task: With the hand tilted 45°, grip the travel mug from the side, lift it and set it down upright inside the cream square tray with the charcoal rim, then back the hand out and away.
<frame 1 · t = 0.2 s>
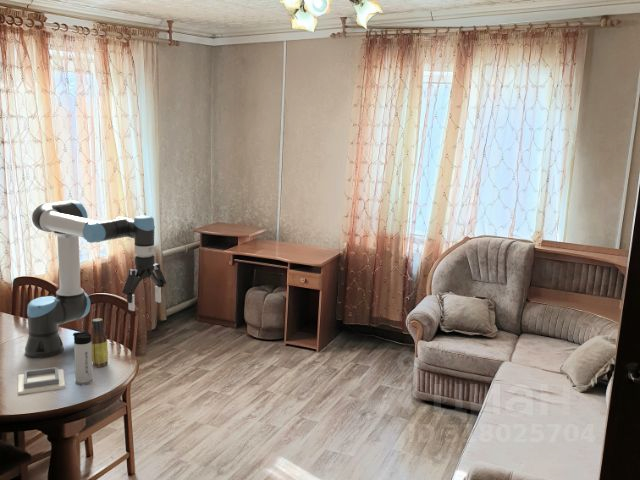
hand: (145, 305, 241), 28 cm above the table, tool pointing down, fingers open, 13 cm apart
travel mug: (83, 382, 234), on the table
sauce bottle: (99, 365, 250), on the table
mug tray: (41, 382, 231), on the table
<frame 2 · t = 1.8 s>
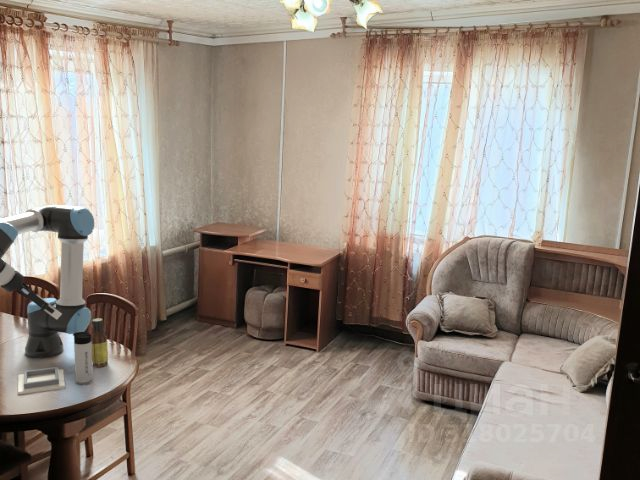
hand: (53, 311, 224), 29 cm above the table, tool tilted 45°, fingers open, 13 cm apart
nothing on the table moved.
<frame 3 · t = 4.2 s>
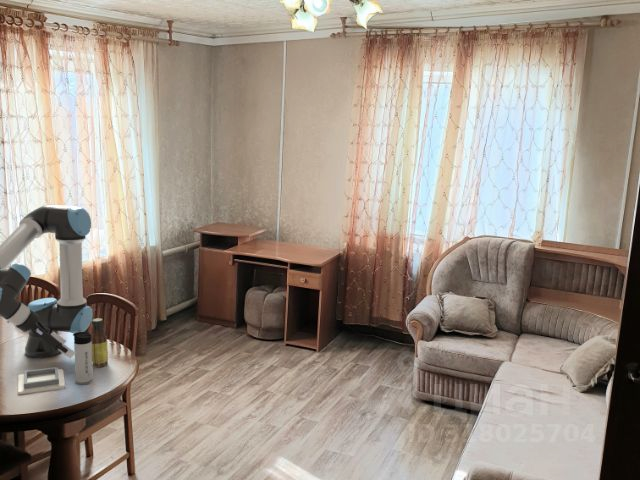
hand: (68, 349, 227), 15 cm above the table, tool tilted 45°, fingers open, 13 cm apart
nothing on the table moved.
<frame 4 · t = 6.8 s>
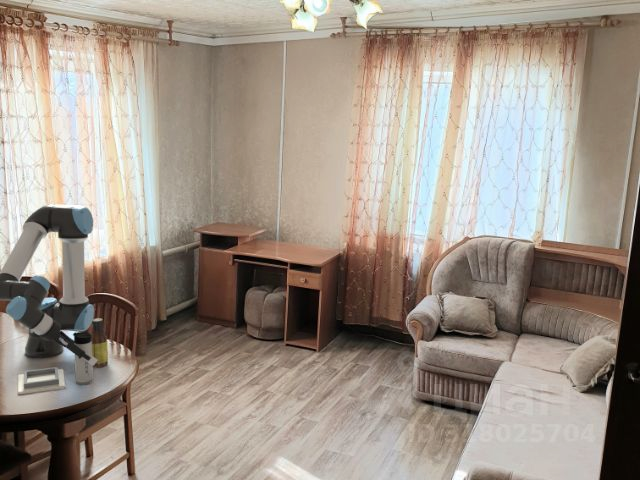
hand: (92, 359, 234), 8 cm above the table, tool tilted 45°, fingers closed on travel mug, 6 cm apart
travel mug: (83, 382, 234), on the table, touching gripper
everything else where it was.
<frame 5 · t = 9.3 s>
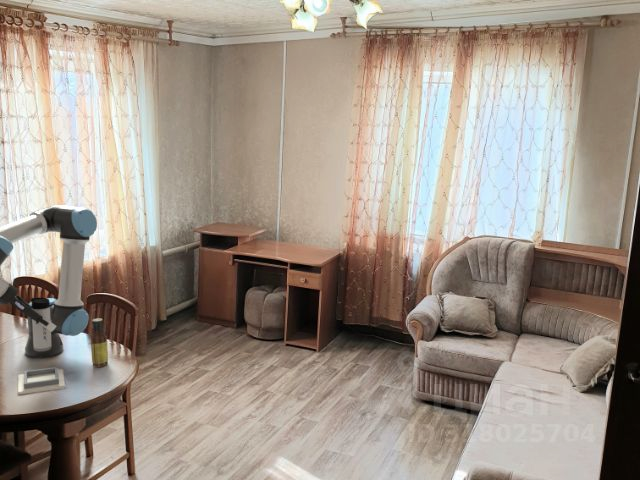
hand: (51, 326, 229), 22 cm above the table, tool tilted 45°, fingers closed on travel mug, 6 cm apart
travel mug: (42, 349, 229), point 14 cm above the table, touching gripper
everything else where it was.
when the fingers open (11 cm above the table, at t = 11.9 s): travel mug drops 2 cm, resting on mug tray.
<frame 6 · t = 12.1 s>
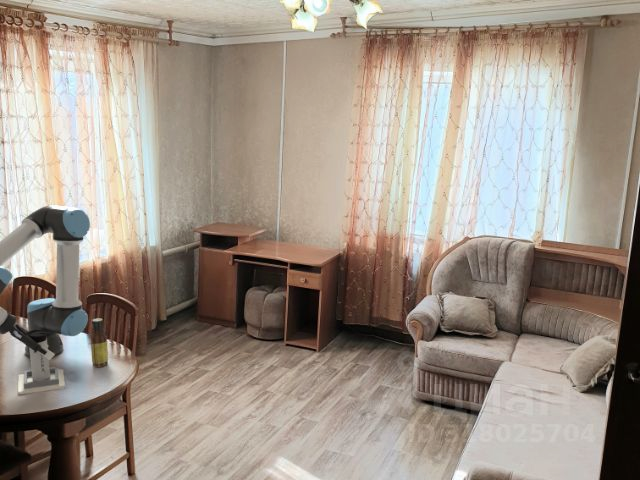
hand: (49, 352, 231), 12 cm above the table, tool tilted 45°, fingers open, 9 cm apart
travel mug: (41, 380, 231), point 1 cm above the table, touching mug tray
everything else where it was.
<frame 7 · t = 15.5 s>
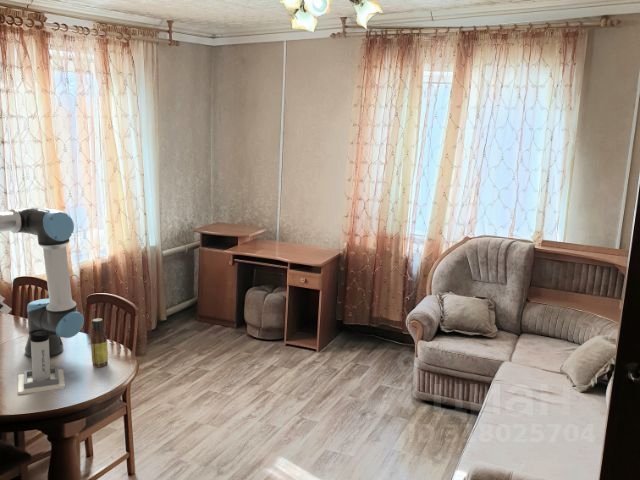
hand: (5, 306, 218), 33 cm above the table, tool tilted 45°, fingers open, 13 cm apart
nothing on the table moved.
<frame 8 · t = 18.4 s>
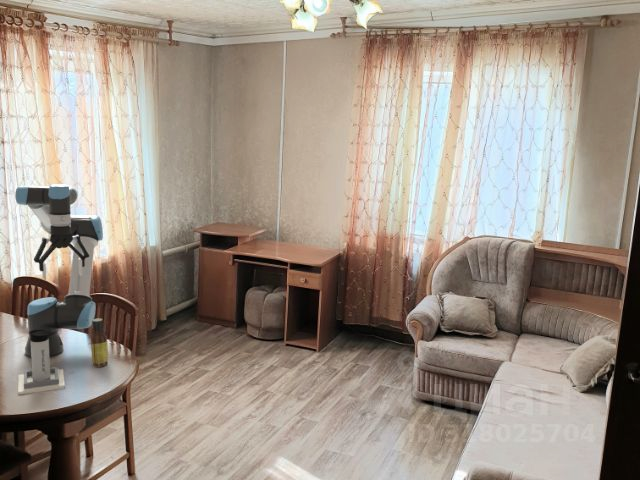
hand: (62, 277, 237), 39 cm above the table, tool pointing down, fingers open, 13 cm apart
nothing on the table moved.
at the end: travel mug inside the target area on the mug tray (0.1 cm from its centre), point 0.8 cm above the mug tray's base; travel mug tilted 0°; the gripper is holding nothing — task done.
